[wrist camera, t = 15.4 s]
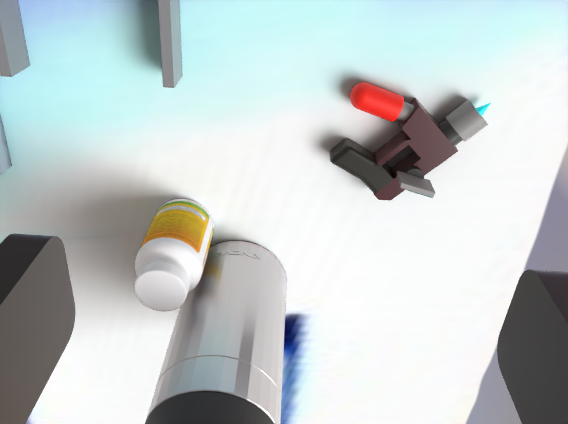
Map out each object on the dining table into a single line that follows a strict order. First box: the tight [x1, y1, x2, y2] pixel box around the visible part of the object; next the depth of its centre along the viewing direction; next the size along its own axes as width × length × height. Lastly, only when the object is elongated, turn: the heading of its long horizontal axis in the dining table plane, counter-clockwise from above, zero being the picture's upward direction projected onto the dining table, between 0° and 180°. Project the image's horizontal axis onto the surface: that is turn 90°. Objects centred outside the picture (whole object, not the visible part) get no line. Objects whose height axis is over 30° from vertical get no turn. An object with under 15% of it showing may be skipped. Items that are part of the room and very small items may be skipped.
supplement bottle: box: [134, 199, 214, 311], centre depth 44 cm, size 5×5×10 cm
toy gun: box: [330, 82, 491, 200], centre depth 41 cm, size 10×12×5 cm
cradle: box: [0, 0, 182, 88], centre depth 38 cm, size 8×13×3 cm, turn 87°
